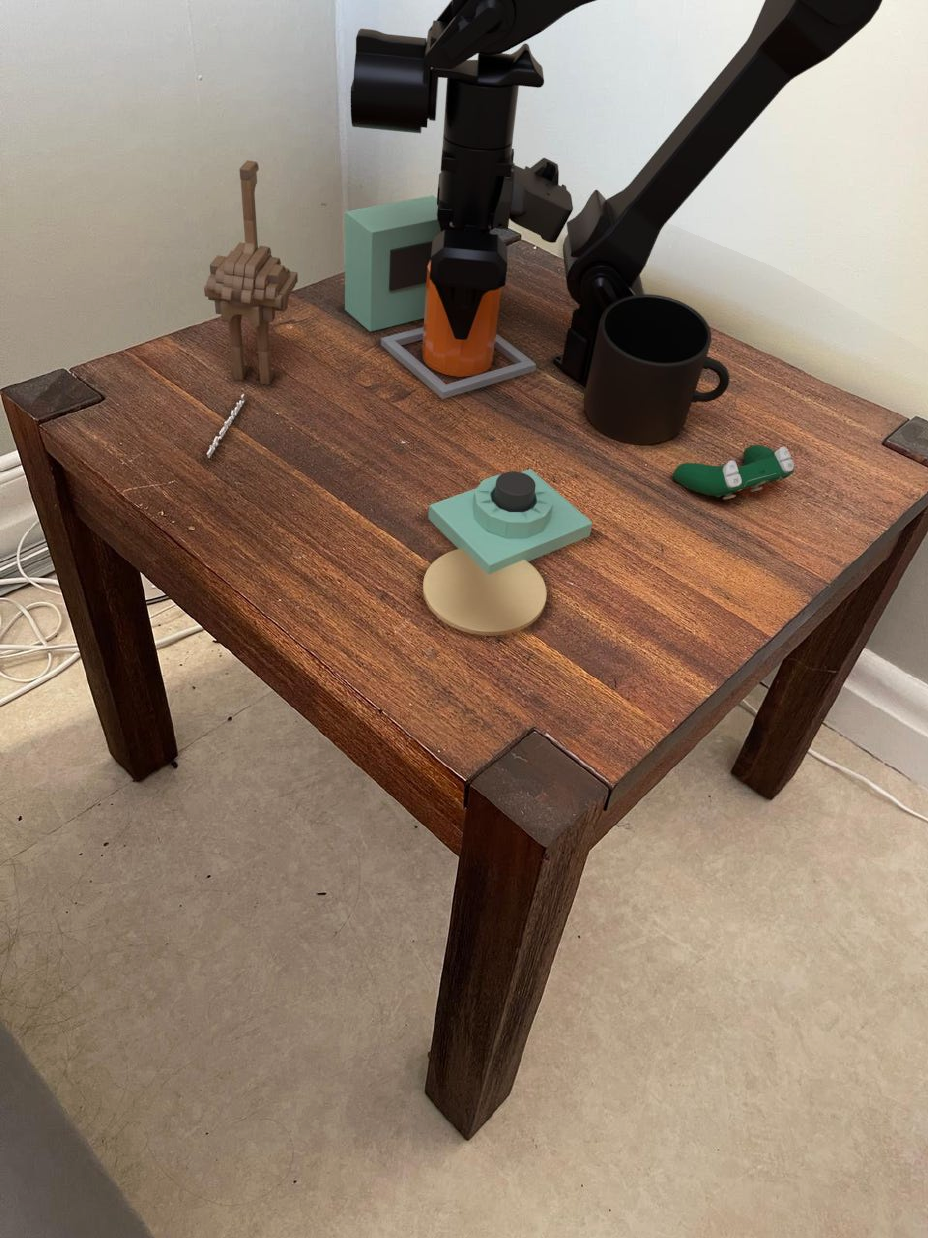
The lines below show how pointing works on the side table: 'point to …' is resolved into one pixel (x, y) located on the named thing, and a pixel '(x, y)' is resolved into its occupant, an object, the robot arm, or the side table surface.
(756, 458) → the gaming controller
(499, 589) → the coaster
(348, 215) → the mint block with tray
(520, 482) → the stop button
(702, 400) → the mug
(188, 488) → the side table surface
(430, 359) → the cup
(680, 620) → the side table surface
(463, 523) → the button base
